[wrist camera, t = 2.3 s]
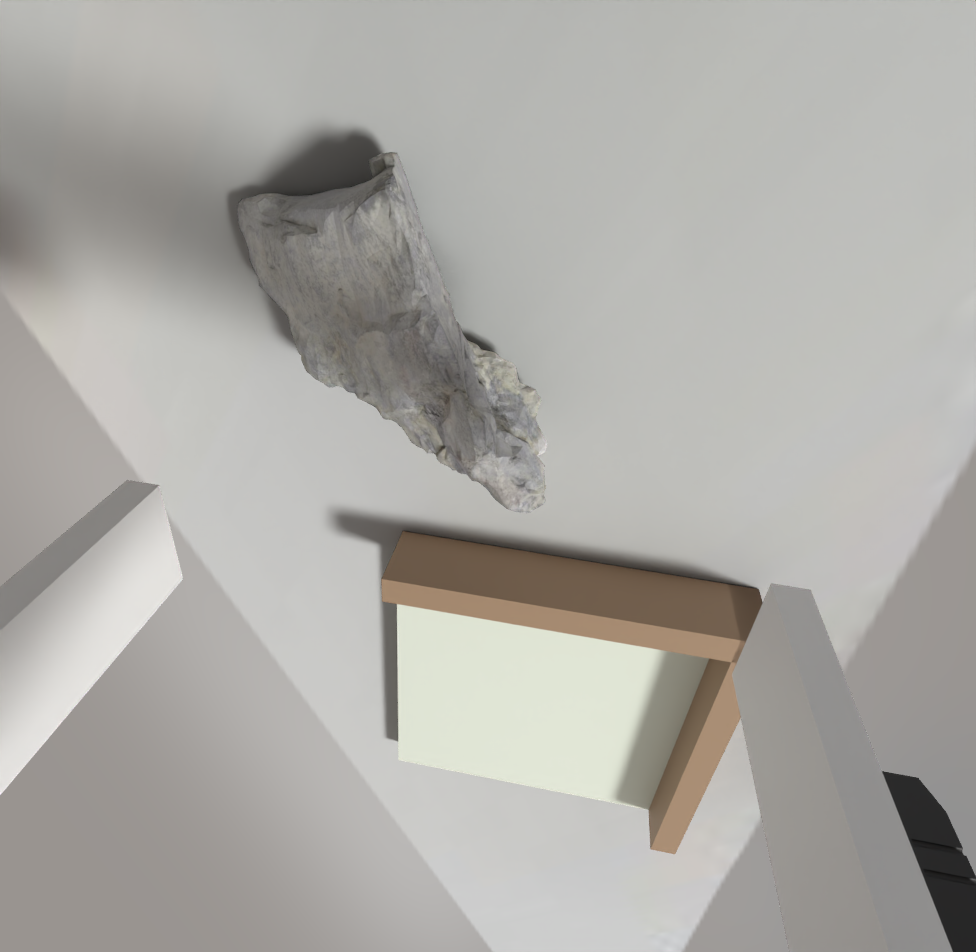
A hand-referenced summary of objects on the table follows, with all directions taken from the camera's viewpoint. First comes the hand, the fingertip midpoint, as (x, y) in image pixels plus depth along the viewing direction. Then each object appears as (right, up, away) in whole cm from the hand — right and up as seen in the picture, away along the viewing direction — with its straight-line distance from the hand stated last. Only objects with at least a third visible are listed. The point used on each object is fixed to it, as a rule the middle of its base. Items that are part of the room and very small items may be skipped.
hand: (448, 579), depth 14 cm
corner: (+3, -8, +17) cm, 19 cm away
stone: (+3, +6, +9) cm, 12 cm away
